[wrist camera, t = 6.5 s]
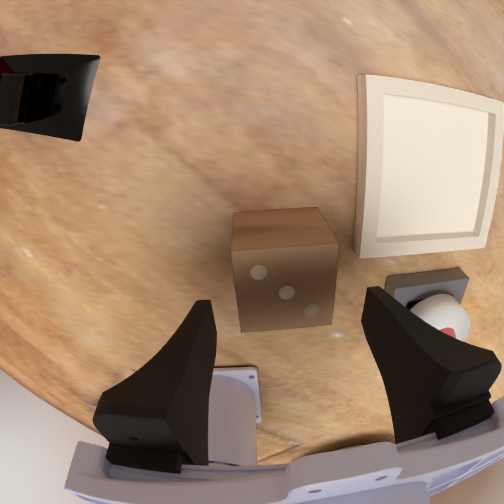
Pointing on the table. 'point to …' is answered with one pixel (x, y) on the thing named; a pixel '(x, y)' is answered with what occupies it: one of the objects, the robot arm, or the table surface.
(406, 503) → the robot arm
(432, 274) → the grey button base
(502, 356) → the table surface
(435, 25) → the table surface
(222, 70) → the table surface
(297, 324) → the die
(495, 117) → the die pad
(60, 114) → the black tapered mount
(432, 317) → the dome
